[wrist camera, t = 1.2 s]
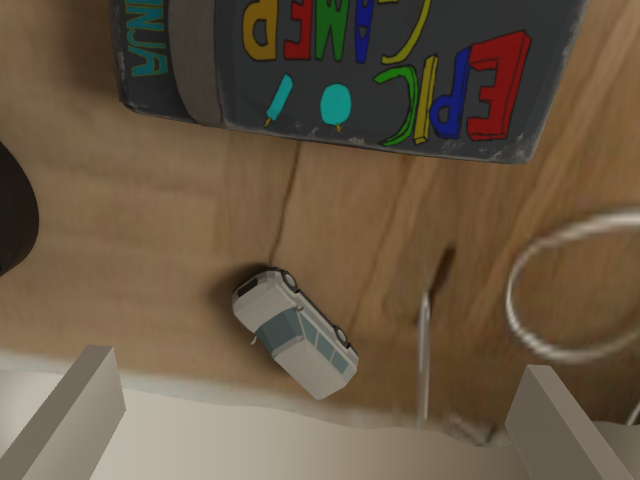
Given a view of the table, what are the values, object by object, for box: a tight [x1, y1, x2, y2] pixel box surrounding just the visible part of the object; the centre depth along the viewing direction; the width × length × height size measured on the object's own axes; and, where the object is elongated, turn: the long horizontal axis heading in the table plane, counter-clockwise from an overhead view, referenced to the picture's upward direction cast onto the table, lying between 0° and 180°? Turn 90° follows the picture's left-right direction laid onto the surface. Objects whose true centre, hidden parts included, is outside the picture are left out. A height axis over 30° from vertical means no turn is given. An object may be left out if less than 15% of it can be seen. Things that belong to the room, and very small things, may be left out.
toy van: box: [109, 0, 590, 164], centre depth 23 cm, size 11×25×10 cm, turn 82°
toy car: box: [232, 267, 359, 400], centre depth 35 cm, size 6×13×5 cm, turn 38°
